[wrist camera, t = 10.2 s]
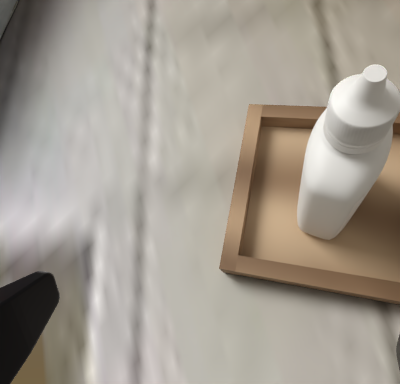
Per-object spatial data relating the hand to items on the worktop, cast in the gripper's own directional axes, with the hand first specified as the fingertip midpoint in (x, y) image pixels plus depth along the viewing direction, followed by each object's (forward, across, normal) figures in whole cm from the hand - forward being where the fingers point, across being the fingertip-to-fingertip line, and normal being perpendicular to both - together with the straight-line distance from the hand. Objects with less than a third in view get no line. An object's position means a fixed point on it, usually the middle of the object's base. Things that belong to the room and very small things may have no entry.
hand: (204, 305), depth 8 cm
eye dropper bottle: (+15, -4, +4) cm, 16 cm away
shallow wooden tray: (+15, -4, +4) cm, 16 cm away
